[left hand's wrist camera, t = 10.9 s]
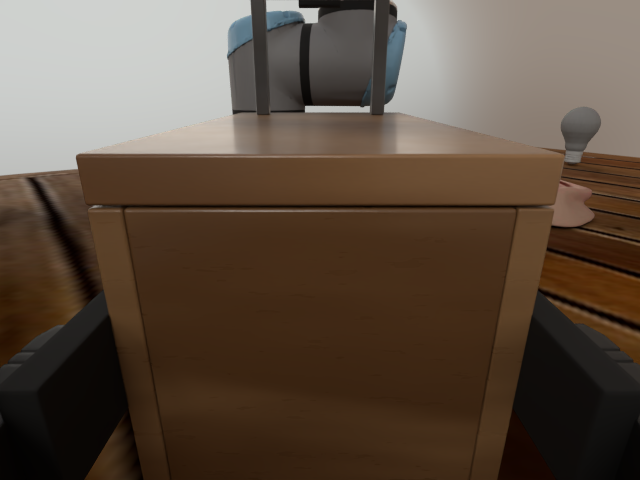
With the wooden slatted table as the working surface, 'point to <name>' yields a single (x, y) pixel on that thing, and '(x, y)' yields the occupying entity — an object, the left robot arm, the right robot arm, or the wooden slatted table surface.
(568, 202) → the anatomical model
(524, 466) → the wooden slatted table surface
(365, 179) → the lid
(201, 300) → the chest
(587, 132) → the light bulb
